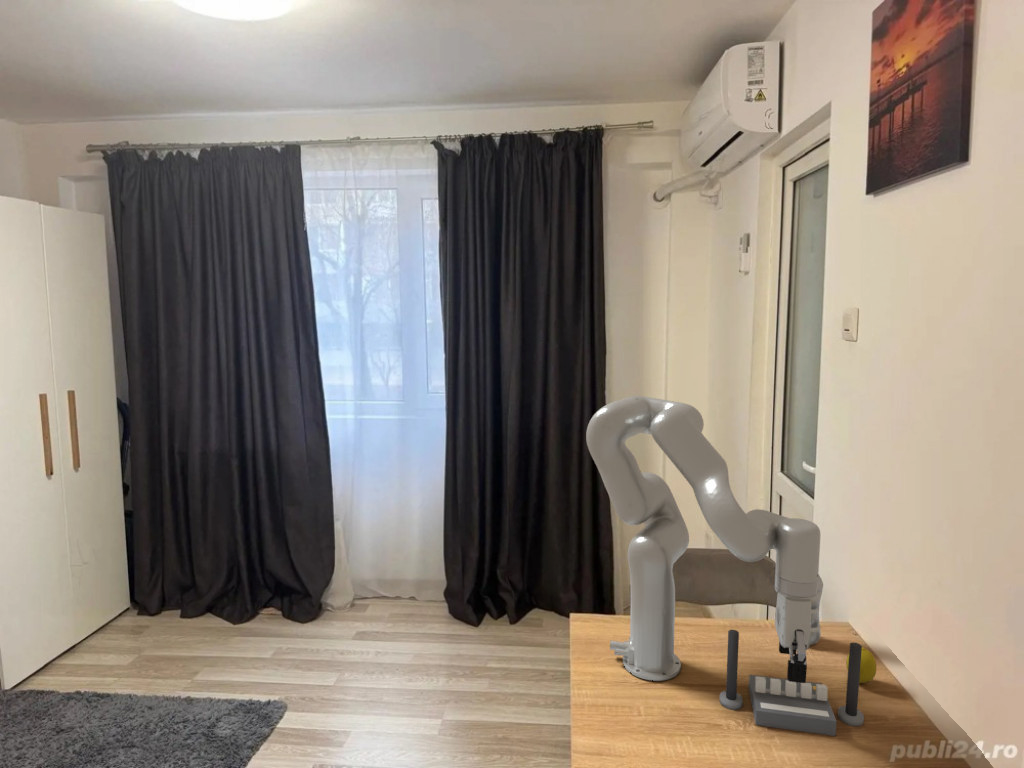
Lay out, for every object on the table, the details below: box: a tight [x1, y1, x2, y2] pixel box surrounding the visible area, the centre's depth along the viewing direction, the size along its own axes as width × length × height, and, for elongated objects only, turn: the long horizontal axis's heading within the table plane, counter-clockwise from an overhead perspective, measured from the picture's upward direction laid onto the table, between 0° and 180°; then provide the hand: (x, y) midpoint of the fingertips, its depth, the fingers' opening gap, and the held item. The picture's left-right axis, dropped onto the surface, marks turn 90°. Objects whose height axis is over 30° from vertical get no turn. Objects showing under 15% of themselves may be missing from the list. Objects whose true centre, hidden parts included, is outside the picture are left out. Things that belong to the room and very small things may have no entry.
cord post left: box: [719, 629, 744, 711], centre depth 128 cm, size 4×4×15 cm
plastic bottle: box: [810, 573, 824, 646], centre depth 150 cm, size 6×7×20 cm
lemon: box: [846, 646, 877, 684], centre depth 135 cm, size 6×6×8 cm
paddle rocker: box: [755, 676, 829, 701], centre depth 126 cm, size 13×1×3 cm, turn 76°
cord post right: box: [837, 642, 865, 727], centre depth 123 cm, size 4×4×15 cm
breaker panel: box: [748, 674, 837, 737], centre depth 127 cm, size 14×12×3 cm
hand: (791, 666), depth 125 cm, fingers open, 9 cm apart
